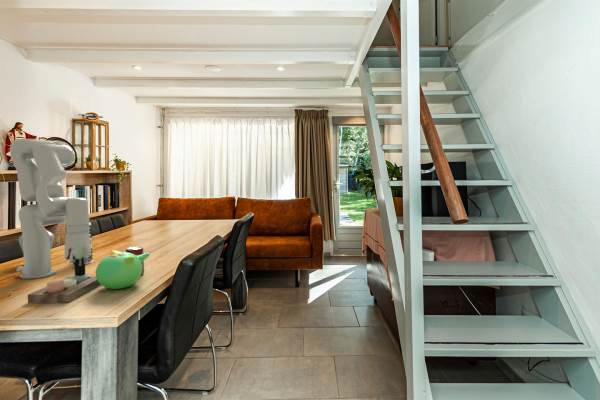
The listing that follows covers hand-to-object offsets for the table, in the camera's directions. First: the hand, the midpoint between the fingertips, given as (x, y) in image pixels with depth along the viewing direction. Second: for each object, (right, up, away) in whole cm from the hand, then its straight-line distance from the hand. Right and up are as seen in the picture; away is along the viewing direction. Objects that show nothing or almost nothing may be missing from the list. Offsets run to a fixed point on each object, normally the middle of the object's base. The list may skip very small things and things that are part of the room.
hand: (80, 275), depth 138 cm
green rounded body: (+17, -5, 0) cm, 18 cm away
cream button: (0, -4, -7) cm, 8 cm away
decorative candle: (-24, -3, +40) cm, 47 cm away
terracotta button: (0, -3, -14) cm, 14 cm away
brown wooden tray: (0, -5, -7) cm, 8 cm away
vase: (-47, -3, +40) cm, 61 cm away
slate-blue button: (0, -3, 0) cm, 3 cm away
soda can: (+14, -4, +18) cm, 23 cm away
